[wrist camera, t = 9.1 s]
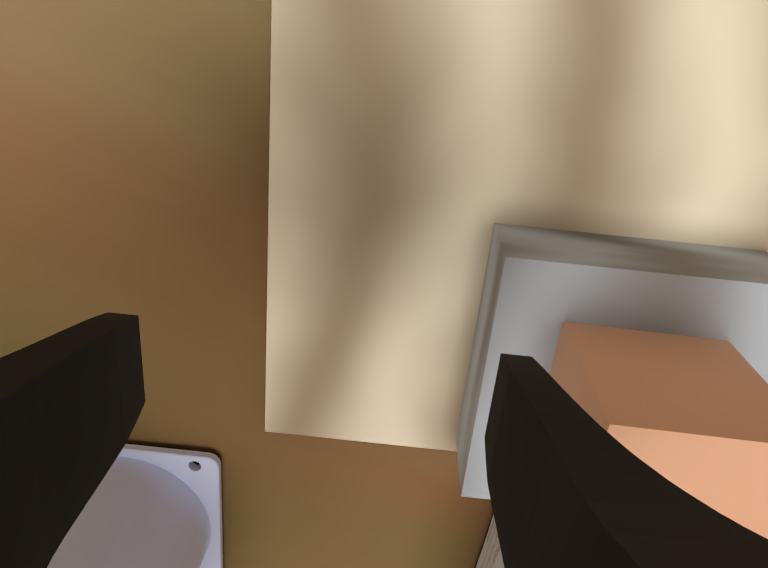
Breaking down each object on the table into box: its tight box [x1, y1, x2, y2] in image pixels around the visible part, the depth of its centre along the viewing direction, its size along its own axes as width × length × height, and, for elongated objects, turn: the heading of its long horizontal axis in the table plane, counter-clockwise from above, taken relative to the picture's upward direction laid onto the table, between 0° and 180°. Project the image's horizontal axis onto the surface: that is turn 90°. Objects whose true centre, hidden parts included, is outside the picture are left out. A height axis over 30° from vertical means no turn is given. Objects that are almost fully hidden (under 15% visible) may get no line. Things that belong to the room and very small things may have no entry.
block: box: [550, 321, 768, 539], centre depth 18 cm, size 5×5×5 cm
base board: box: [265, 0, 768, 499], centre depth 20 cm, size 18×18×4 cm
